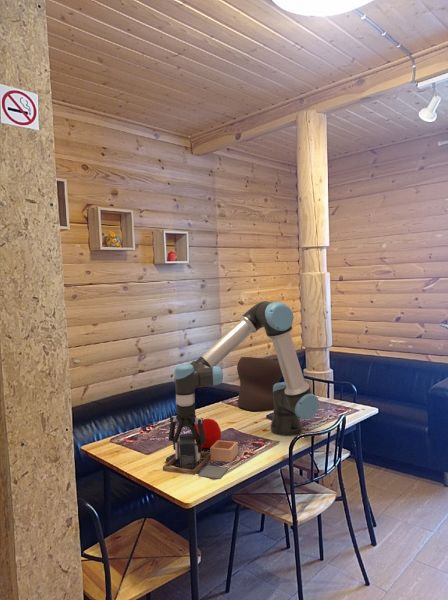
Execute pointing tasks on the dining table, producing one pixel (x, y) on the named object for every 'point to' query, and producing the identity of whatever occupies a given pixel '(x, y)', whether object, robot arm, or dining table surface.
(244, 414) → the dining table surface
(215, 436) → the red round ball
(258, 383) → the vase
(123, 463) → the dining table surface
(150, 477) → the dining table surface
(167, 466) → the tray
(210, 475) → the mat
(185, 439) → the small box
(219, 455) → the terracotta pot
